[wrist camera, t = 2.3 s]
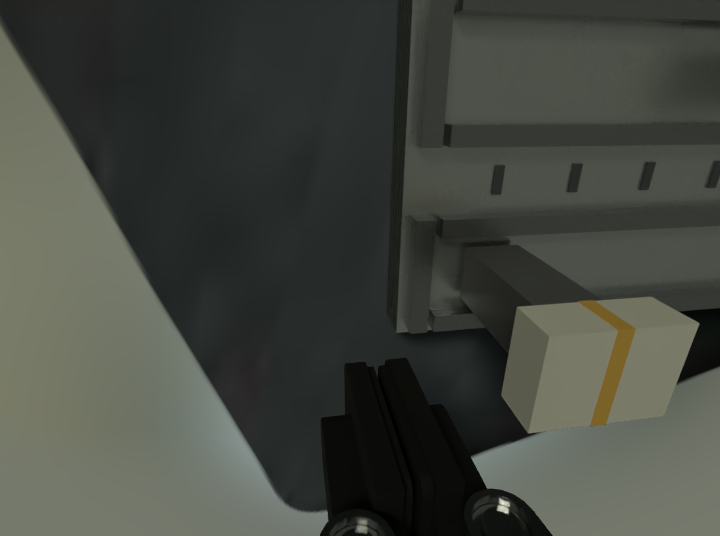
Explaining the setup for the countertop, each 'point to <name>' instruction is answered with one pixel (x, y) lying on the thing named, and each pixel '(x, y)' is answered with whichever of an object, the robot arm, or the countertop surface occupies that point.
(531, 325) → the fader knob
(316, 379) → the countertop surface
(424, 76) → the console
